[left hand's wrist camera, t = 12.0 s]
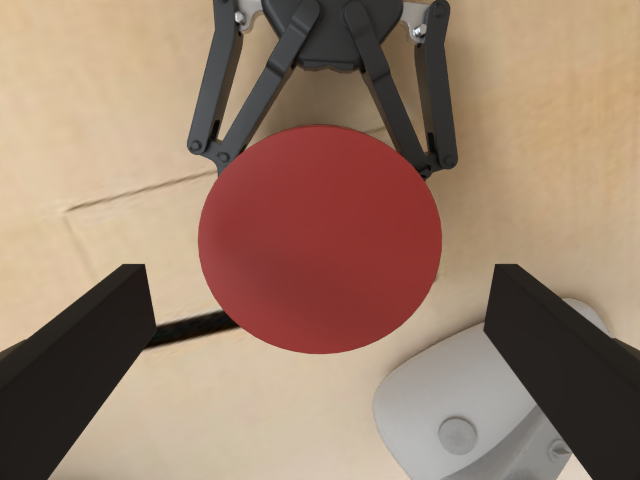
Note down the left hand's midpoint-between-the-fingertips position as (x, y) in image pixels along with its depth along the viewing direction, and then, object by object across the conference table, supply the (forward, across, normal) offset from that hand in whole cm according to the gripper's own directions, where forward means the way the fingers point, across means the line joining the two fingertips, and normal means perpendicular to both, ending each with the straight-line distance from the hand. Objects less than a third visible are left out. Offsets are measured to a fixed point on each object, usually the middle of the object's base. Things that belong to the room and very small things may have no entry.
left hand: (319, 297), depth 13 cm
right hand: (+14, 0, -4) cm, 14 cm away
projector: (+20, +17, -20) cm, 33 cm away
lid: (+5, 0, 0) cm, 5 cm away
